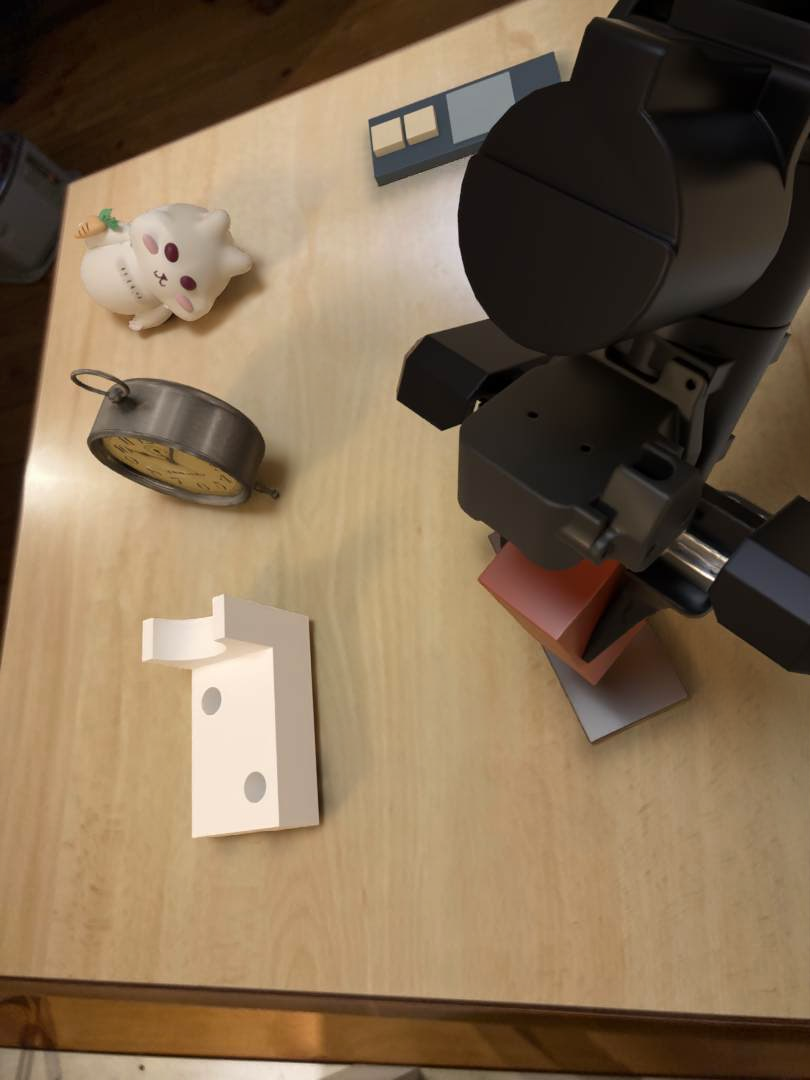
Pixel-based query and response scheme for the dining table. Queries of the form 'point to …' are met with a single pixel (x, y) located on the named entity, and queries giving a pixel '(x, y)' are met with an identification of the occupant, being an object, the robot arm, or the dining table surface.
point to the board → (620, 685)
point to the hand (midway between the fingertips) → (549, 626)
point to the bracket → (245, 715)
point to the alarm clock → (177, 440)
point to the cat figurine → (159, 262)
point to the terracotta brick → (559, 605)
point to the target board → (451, 120)
